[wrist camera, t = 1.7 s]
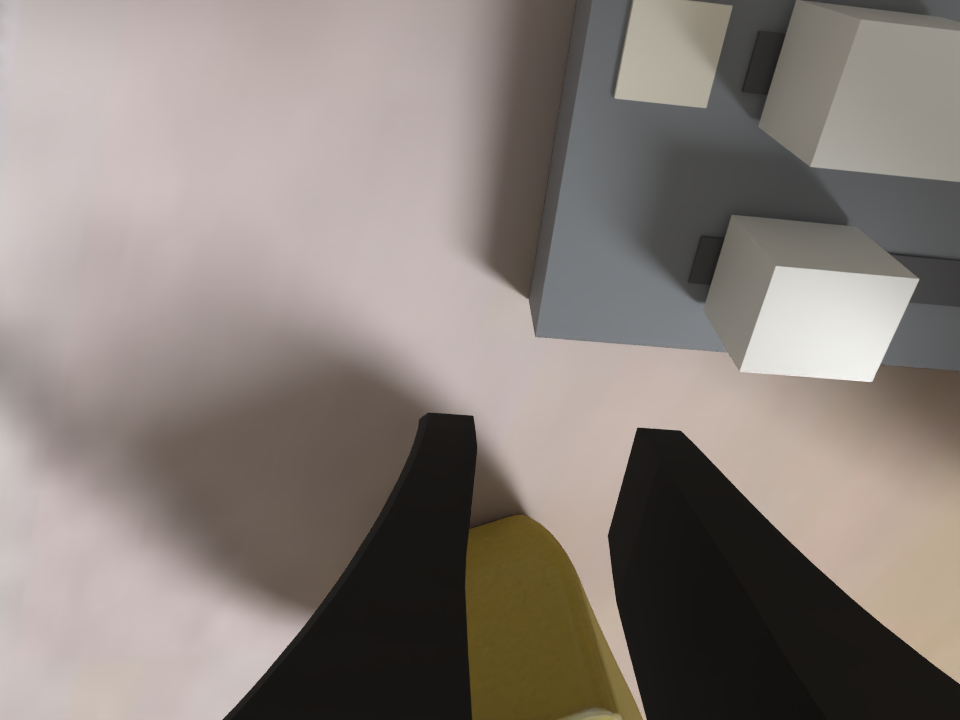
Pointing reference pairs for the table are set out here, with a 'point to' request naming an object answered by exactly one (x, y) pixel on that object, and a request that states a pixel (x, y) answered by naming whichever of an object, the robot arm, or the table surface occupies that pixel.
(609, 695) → the flower pot
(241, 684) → the table surface
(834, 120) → the switch
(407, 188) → the table surface
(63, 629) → the table surface
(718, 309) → the switch
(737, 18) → the panel
